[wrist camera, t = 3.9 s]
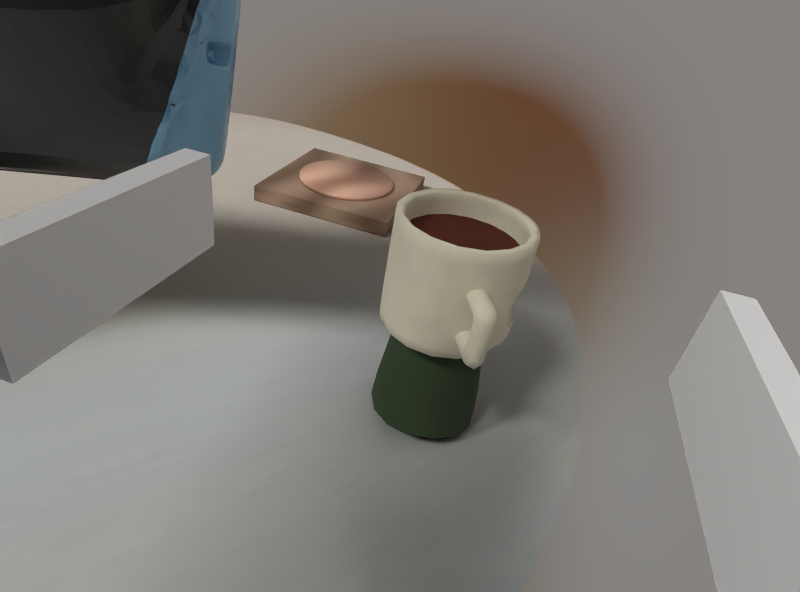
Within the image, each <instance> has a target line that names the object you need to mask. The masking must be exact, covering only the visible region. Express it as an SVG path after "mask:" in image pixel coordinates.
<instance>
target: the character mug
mask: <svg viewBox="0 0 800 592" xmlns="http://www.w3.org/2000/svg"><path fill="white" fill-rule="evenodd" d="M539 241H540V231H539V228H538V226H537V224H536V223H535V222H534V221H533V220H532V219H531V218H530V217H528V216H527V215H526V214H524V213H523V212H521V211H520V210H518V209H516V208H514V207H512V206H510V205H508V204H506V203H504V202H502V201H500V200H496V199H493V198H490V197H487V196H484V195H480V194H477V193H472V192H467V191H461V190H455V189H425V190H420V191H416V192H411V193H409V194H407V195H406V196H404V197H403V198H401V199H400V200H399V201H398V202H397V206H396V210H395V216H394V222H393V228H392V235H391V241H390V247H389V253H388V259H387V265H386V272H385V278H384V284H383V290H382V297H381V304H380V318H381V320H382V322H383V324H384V326H385V327H386V329H387V331H388V333H390V334H391V336H390V339H389V341H388V344H387V347H386V349H385V352H384V355H383V358H382V360H381V363H380V366H379V368H378V372H377V375H376V379H375V382H374V385H373V389H372V398H373V405H374V409H375V411H376V412H377V413H378V414H379V415H380V416H381V417H382V419H383V420H384V421H385V422H386V423H387V424H388V425H390V426H392V427H394V428H396V429H398V430H401V431H403V432H405V433H407V434H409V435H415V436H421V437H427V438H433V439H435V438H447V437H455V436H456V435H458V434H459V433H460V432H461V431H463V430H464V429H465V428H466V427H467V426H469V424H470V420H471V417H472V414H473V410H474V406H475V400H476V395H477V390H478V384H479V376H480V368H481V365H482V363H483V362H484V360H485V357H486V353H487V351H489V350H490V349H492V348H494V347H495V346H497V345H499V344H500V343H502V342H503V341H504V340H505V339H506V337H507V336H508V334H509V332H510V329H511V327H512V324H513V314H514V304H515V301H516V300H517V298H518V296H519V295H520V293H521V291H522V290H523V288H524V287H525V285H526V282H527V280H528V278H529V276H530V271H531V266H532V263H533V260H534V257H535V254H536V251H537V248H538V245H539Z"/></svg>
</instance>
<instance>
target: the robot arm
mask: <svg viewBox="0 0 800 592" xmlns="http://www.w3.org/2000/svg"><path fill="white" fill-rule="evenodd" d="M240 6H241V0H0V170H5V171H16V172H26V173H37V174H48V175H59V176H70V177H80V178H91V179H102V180H103V181H100V182H97V183H95V184H92V185H90V186H87V187H85V188H82V189H80V190H77V191H75V192H72V193H69V194H67V195H64V196H62V197H59V198H57V199H54V200H52V201H49V202H47V203H44V204H41V205H39V206H36V207H34V208H31V209H29V210H26V211H24V212H21V213H18V214H16V215H13V216H11V217H8V218H6V219H3V220H1V221H0V379H2V380H5V381H7V382H10V383H15V382H16V381H18V380H19V379H21V378H22V377H23V376H25V375H26V374H28V373H29V372H31V371H32V370H34V369H35V368H36V367H38V366H39V365H41V364H42V363H44V362H45V361H47V360H48V359H50V358H51V357H52V356H54V355H55V354H57V353H58V352H60V351H61V350H63V349H64V348H66V347H67V346H68V345H70V344H71V343H73V342H74V341H76V340H77V339H79V338H80V337H81V336H83V335H84V334H86V333H87V332H89V331H90V330H92V329H93V328H95V327H96V326H97V325H99V324H100V323H102V322H103V321H105V320H106V319H108V318H109V317H110V316H112V315H113V314H115V313H116V312H118V311H119V310H121V309H122V308H124V307H125V306H126V305H128V304H129V303H131V302H132V301H134V300H135V299H137V298H138V297H140V296H141V295H142V294H144V293H145V292H147V291H148V290H150V289H151V288H153V287H154V286H155V285H157V284H158V283H160V282H161V281H163V280H164V279H166V278H167V277H169V276H170V275H171V274H173V273H174V272H176V271H177V270H179V269H180V268H182V267H183V266H185V265H186V264H187V263H189V262H190V261H192V260H193V259H195V258H196V257H198V256H199V255H200V254H202V253H203V252H205V251H206V250H208V249H209V248H211V247H212V246H214V245H215V244H214V223H213V202H212V181H211V176H212V175H214V173H215V172H216V171H217V170H218V169H219V168H220V166H221V164H222V162H223V159H224V154H225V149H226V141H227V133H228V125H229V116H230V107H231V98H232V89H233V79H234V78H233V77H234V69H235V59H236V47H237V38H238V28H239V18H240ZM668 380H669V385H670V389H671V394H672V398H673V402H674V406H675V411H676V415H677V420H678V424H679V428H680V433H681V437H682V441H683V446H684V450H685V455H686V459H687V464H688V468H689V472H690V477H691V481H692V485H693V489H694V494H695V499H696V503H697V507H698V512H699V516H700V520H701V525H702V529H703V533H704V538H705V542H706V547H707V551H708V555H709V560H710V564H711V568H712V572H713V577H714V581H715V586H716V590H717V592H800V375H799V373H798V371H797V370H796V368H795V366H794V364H793V363H792V361H791V359H790V357H789V356H788V354H787V352H786V350H785V349H784V347H783V345H782V344H781V342H780V340H779V338H778V337H777V335H776V333H775V332H774V330H773V328H772V326H771V325H770V323H769V321H768V319H767V318H766V316H765V314H764V312H763V311H762V309H761V307H760V305H759V304H758V302H757V300H756V299H753V298H750V297H746V296H742V295H738V294H734V293H731V292H727V291H723V290H720V291H719V293H718V295H717V297H716V298H715V300H714V301H713V303H712V305H711V307H710V308H709V310H708V312H707V314H706V315H705V317H704V319H703V320H702V322H701V324H700V326H699V327H698V329H697V331H696V333H695V334H694V336H693V338H692V339H691V341H690V343H689V345H688V346H687V348H686V350H685V351H684V353H683V355H682V357H681V359H680V360H679V362H678V364H677V366H676V367H675V369H674V370H673V372H672V374H671V376H670V377H669V379H668Z"/></svg>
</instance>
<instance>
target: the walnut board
mask: <svg viewBox="0 0 800 592" xmlns="http://www.w3.org/2000/svg"><path fill="white" fill-rule="evenodd" d="M424 178H425V177H422V176H418V175H415V174H411V173H407V172H403V171H399V170H396V169H392V168H388V167H384V166H380V165H376V164H373V163H369V162H365V161H361V160H357V159H354V158H350V157H346V156H342V155H338V154H334V153H331V152H327V151H323V150H319V149H315V148H314V149H313V150H311V151H309V152H308V153H306V154H305V155H303V156H301V157H300V158H298V159H297V160H295V161H293V162H292V163H290V164H288V165H287V166H285V167H284V168H282V169H280V170H279V171H277V172H276V173H274V174H272V175H271V176H269V177H268V178H266V179H264V180H263V181H261V182H260V183H258V184H256V185H255V186H254V200H257V201H261V202H264V203H268V204H271V205H275V206H278V207H282V208H285V209H289V210H292V211H296V212H299V213H303V214H306V215H310V216H313V217H317V218H320V219H324V220H327V221H331V222H334V223H338V224H341V225H345V226H348V227H352V228H355V229H359V230H362V231H366V232H369V233H373V234H376V235H380V236H383V237H386V236H387V234H388V233H389V232H390V230H391V229H392V228H393V222H394V216H395V210H396V206H397V202H398V201H399V200H400V199H401V198H403V197H404V196H406V195H407V194H409V193H411V192H416V191H420V190H422V189H423V183H424Z"/></svg>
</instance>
